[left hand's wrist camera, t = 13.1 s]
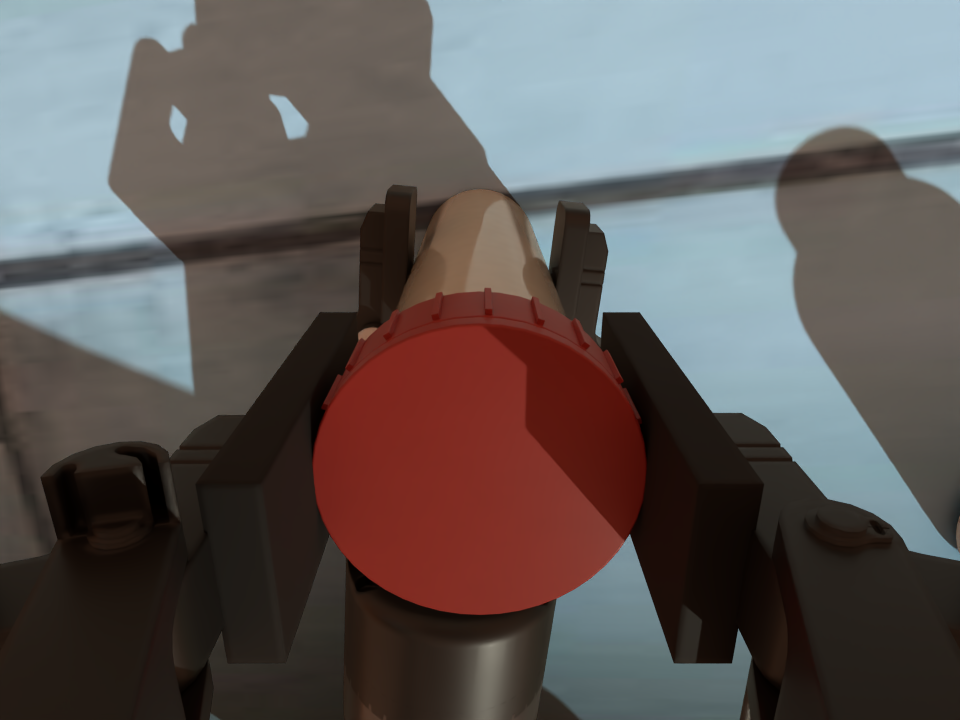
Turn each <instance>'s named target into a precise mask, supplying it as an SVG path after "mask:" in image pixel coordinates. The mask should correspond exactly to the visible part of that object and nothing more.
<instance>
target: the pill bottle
mask: <svg viewBox="0 0 960 720" xmlns="http://www.w3.org/2000/svg"><path fill="white" fill-rule="evenodd" d="M956 540H957V547H958V551H959V553H960V517H959V520H958V524H957V531H956Z"/></svg>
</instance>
